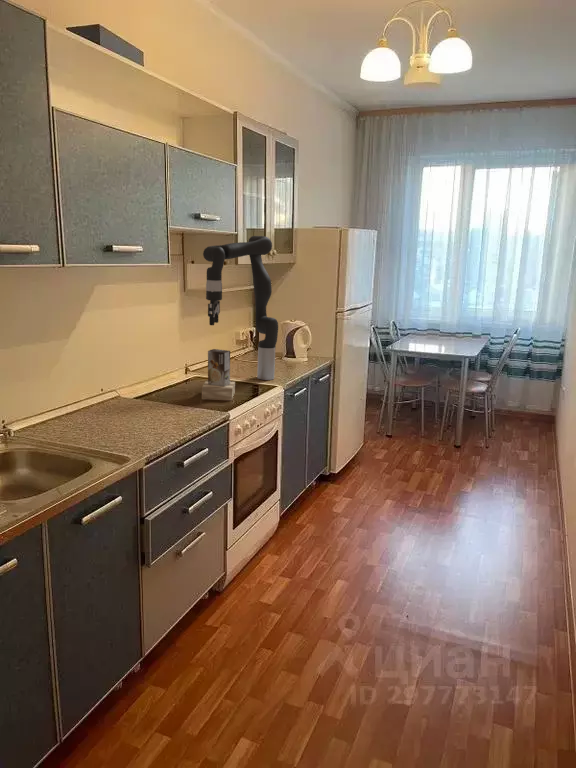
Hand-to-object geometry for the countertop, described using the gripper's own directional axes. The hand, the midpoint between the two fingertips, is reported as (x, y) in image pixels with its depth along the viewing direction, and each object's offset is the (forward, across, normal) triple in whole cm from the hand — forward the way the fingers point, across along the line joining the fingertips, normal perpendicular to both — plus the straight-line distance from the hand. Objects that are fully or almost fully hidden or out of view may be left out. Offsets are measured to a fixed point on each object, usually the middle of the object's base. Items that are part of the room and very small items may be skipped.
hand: (214, 323), depth 272 cm
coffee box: (+27, +11, +5) cm, 30 cm away
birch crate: (+33, +11, +5) cm, 35 cm away
